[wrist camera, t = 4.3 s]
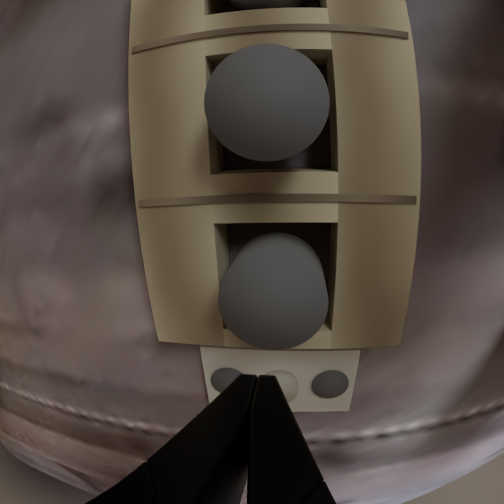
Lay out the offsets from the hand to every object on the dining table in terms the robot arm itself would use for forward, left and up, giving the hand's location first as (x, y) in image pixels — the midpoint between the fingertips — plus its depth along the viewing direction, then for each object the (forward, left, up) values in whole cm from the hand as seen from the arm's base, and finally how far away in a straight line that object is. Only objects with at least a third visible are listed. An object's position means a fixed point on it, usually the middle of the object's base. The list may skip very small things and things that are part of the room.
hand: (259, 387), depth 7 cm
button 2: (0, 0, -7) cm, 7 cm away
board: (0, -7, -9) cm, 11 cm away
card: (0, +8, -9) cm, 12 cm away
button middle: (0, -7, -7) cm, 10 cm away
